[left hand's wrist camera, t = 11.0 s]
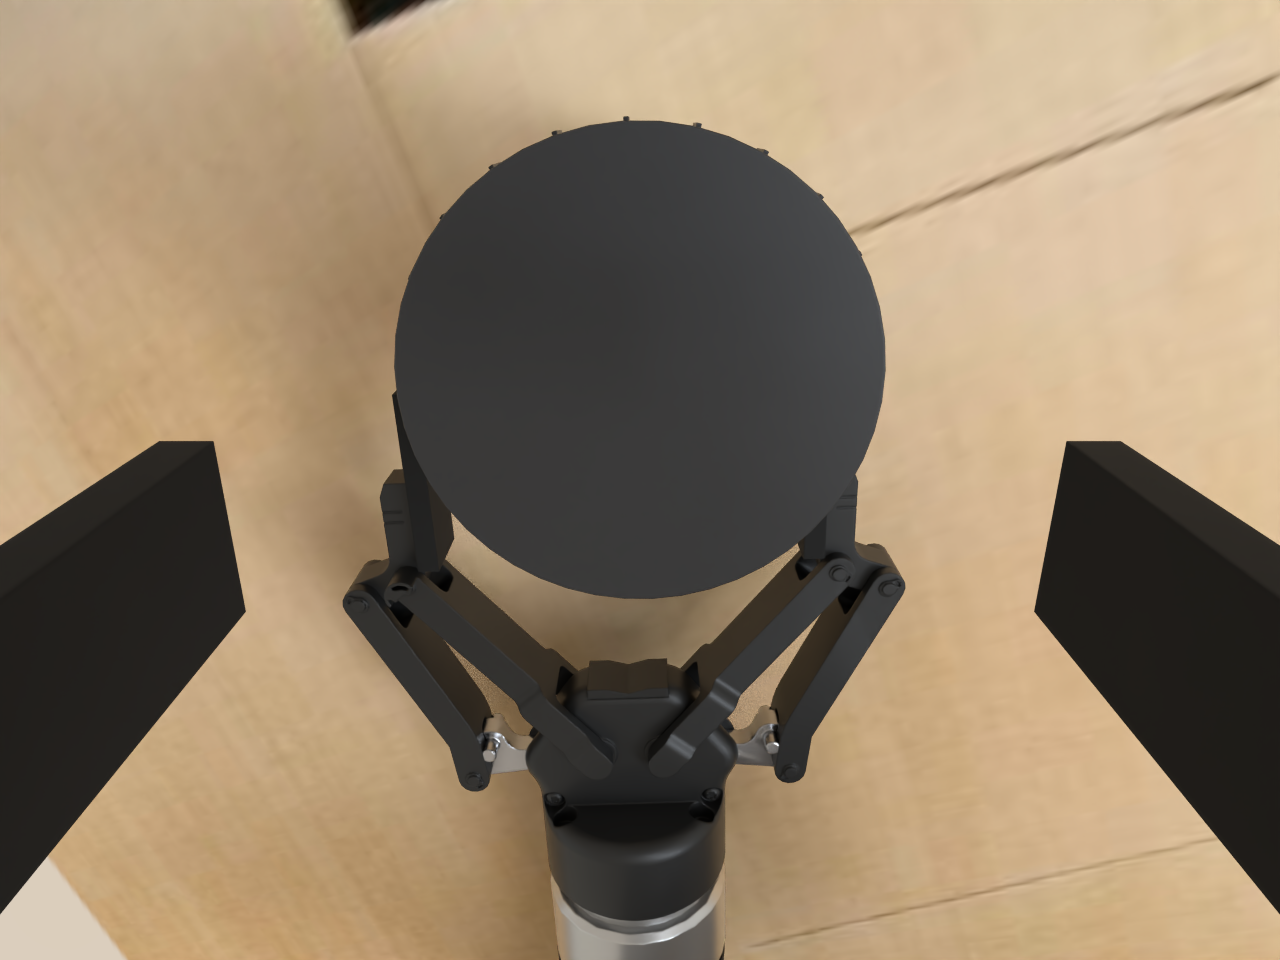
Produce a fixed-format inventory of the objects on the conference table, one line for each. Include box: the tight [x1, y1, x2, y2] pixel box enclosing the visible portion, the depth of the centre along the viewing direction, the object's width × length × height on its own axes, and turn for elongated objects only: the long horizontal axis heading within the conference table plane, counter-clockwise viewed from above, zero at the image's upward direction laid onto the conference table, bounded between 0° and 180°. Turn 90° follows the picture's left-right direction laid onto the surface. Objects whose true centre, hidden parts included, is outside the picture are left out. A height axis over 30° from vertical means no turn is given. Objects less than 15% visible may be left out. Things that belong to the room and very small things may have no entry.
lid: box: [394, 116, 886, 599], centre depth 21 cm, size 11×11×2 cm
